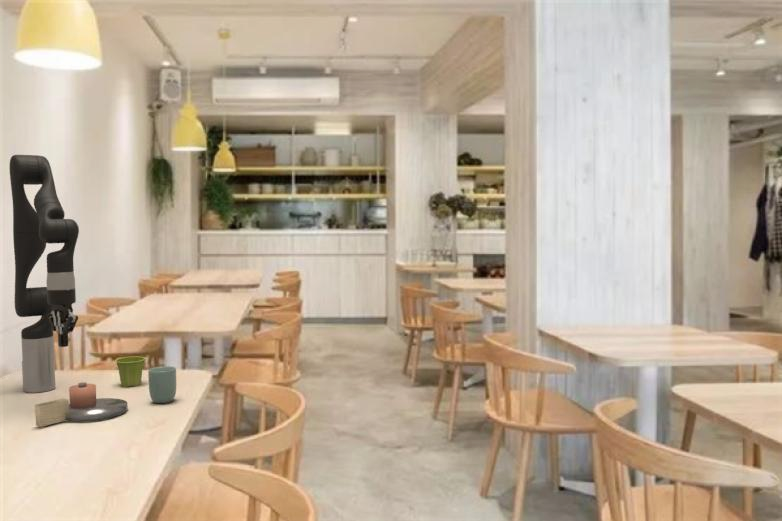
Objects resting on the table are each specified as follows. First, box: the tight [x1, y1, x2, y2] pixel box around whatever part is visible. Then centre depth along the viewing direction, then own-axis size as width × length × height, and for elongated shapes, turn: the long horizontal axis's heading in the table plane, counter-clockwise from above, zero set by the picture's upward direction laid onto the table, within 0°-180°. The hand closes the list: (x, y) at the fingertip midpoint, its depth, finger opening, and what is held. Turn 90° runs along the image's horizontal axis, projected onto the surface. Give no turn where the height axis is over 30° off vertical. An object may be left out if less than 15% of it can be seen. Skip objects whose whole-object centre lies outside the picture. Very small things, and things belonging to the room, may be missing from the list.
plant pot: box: [114, 355, 146, 388], centre depth 233 cm, size 9×9×9 cm
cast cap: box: [68, 381, 97, 407], centre depth 201 cm, size 7×7×6 cm
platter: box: [34, 397, 128, 428], centre depth 196 cm, size 18×25×6 cm
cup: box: [147, 365, 177, 404], centre depth 211 cm, size 8×8×10 cm
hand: (63, 346), depth 206 cm, fingers closed
